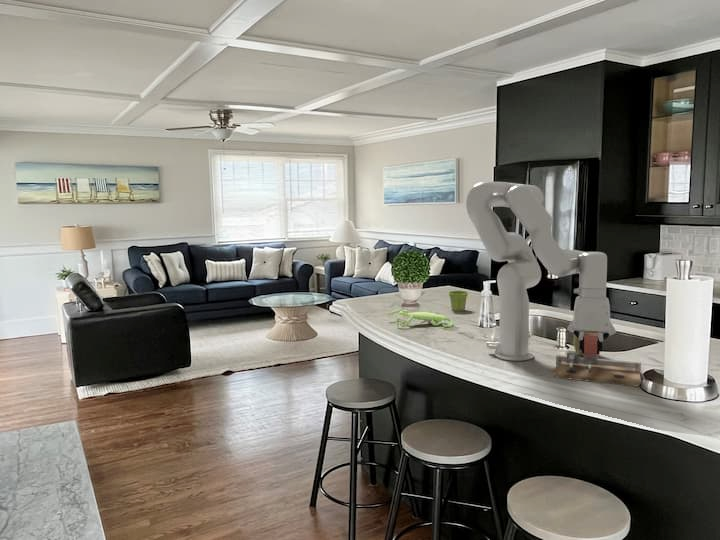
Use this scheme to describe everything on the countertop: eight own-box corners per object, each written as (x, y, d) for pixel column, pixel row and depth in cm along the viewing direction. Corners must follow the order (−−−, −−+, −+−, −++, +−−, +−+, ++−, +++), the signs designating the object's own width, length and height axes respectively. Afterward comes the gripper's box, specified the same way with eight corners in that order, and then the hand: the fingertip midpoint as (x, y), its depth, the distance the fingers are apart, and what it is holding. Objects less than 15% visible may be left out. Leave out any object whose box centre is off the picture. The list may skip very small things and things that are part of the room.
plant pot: (467, 312, 262) (467, 294, 261) (447, 311, 264) (447, 293, 263) (469, 308, 271) (469, 290, 270) (449, 308, 273) (449, 290, 272)
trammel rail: (553, 370, 168) (554, 357, 167) (556, 362, 176) (556, 349, 175) (641, 379, 158) (642, 365, 158) (640, 370, 166) (640, 356, 166)
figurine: (388, 320, 250) (387, 308, 249) (447, 319, 250) (447, 306, 249) (390, 330, 232) (390, 316, 231) (454, 328, 232) (454, 315, 231)
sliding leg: (582, 372, 165) (583, 339, 163) (584, 363, 173) (585, 332, 172) (595, 373, 163) (596, 340, 162) (596, 364, 171) (597, 333, 170)
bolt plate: (553, 377, 165) (553, 373, 165) (558, 364, 178) (558, 360, 178) (640, 386, 156) (641, 382, 156) (638, 372, 168) (639, 368, 168)
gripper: (561, 293, 168) (560, 353, 170) (623, 296, 161) (620, 358, 163) (563, 290, 175) (562, 347, 177) (622, 292, 168) (620, 352, 170)
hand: (590, 352), depth 170 cm, fingers closed on sliding leg, 3 cm apart
